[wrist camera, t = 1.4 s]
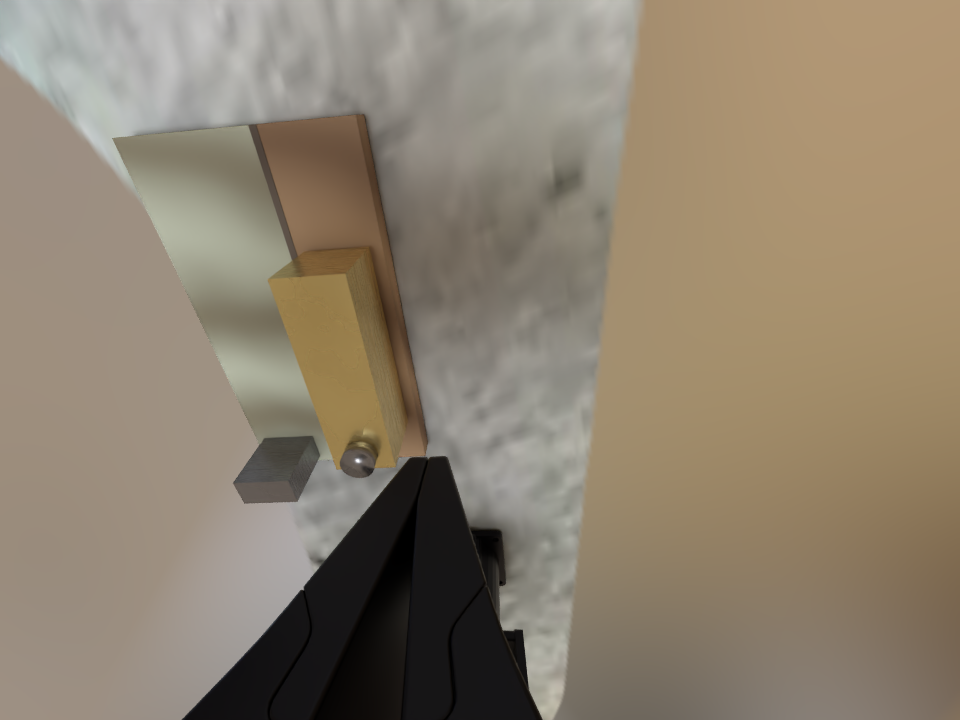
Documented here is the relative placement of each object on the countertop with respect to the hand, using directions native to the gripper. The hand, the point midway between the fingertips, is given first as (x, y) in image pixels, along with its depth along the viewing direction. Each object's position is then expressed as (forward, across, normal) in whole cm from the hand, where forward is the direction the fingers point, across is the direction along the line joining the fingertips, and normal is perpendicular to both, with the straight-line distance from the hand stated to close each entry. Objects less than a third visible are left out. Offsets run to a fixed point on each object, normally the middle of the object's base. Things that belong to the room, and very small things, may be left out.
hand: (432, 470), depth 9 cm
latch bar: (+11, +5, +3) cm, 13 cm away
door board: (+13, +8, +2) cm, 16 cm away
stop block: (+12, +12, +10) cm, 19 cm away
